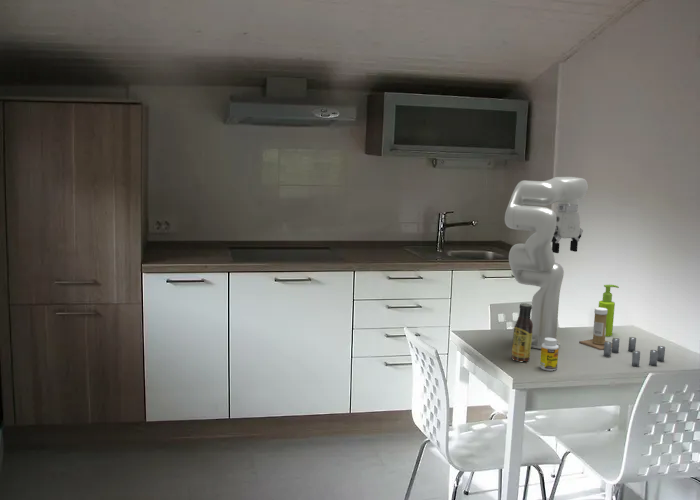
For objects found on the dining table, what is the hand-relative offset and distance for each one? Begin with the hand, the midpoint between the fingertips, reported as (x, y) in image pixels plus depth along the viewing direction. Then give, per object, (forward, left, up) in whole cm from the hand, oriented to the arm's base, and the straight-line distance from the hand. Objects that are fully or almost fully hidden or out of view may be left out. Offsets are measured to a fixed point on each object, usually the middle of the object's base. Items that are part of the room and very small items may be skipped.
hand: (564, 251), depth 275 cm
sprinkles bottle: (0, -20, -32) cm, 38 cm away
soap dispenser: (+14, -11, -33) cm, 37 cm away
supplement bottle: (-38, -32, -33) cm, 60 cm away
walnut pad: (0, -20, -32) cm, 38 cm away
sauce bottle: (-40, -21, -33) cm, 56 cm away
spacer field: (-2, -37, -32) cm, 49 cm away
